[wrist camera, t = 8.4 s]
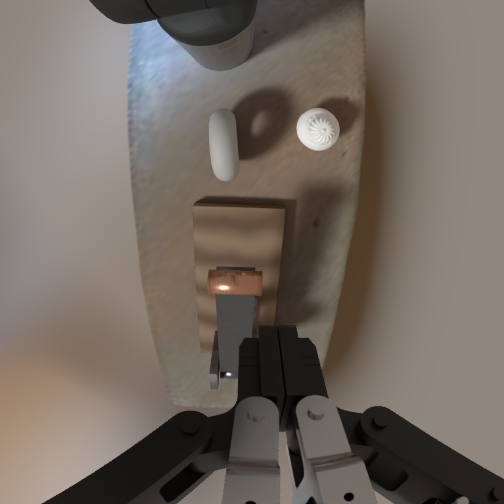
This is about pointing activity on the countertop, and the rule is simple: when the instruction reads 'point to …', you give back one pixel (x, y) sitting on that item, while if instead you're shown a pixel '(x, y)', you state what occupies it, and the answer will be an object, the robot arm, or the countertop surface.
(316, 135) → the white rounded bulbous piece
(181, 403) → the countertop surface
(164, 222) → the countertop surface
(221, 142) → the donut
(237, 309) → the lever
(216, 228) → the cracker base
